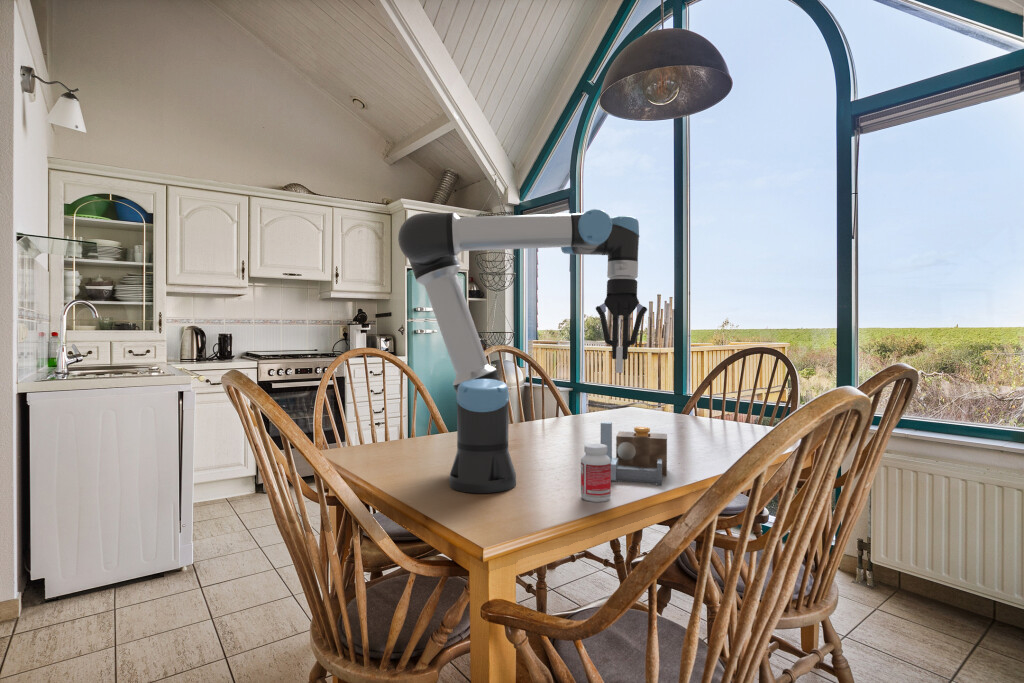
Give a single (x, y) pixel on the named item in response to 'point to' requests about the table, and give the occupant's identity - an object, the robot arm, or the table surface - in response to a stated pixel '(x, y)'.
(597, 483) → the pill bottle
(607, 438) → the carriage
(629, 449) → the cabinet
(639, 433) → the peg
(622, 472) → the grey u-shaped bracket
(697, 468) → the table surface
